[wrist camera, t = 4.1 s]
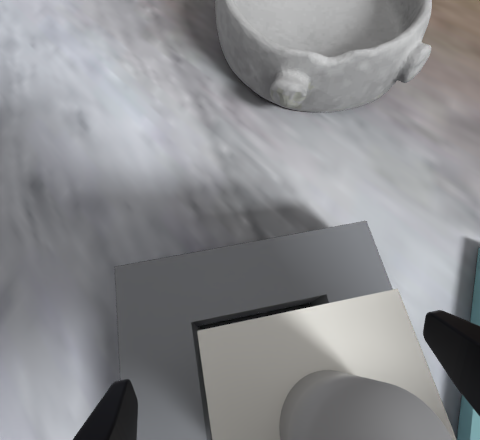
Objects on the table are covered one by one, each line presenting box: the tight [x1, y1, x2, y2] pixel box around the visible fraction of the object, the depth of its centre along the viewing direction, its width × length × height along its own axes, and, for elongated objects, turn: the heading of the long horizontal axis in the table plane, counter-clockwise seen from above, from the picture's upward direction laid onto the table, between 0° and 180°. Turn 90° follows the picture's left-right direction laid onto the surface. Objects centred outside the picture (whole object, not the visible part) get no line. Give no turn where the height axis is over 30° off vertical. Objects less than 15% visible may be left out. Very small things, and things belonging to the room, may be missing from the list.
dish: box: [215, 0, 432, 112], centre depth 21 cm, size 14×14×5 cm
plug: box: [197, 289, 457, 440], centre depth 9 cm, size 4×4×12 cm
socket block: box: [115, 221, 393, 440], centre depth 13 cm, size 12×12×3 cm
